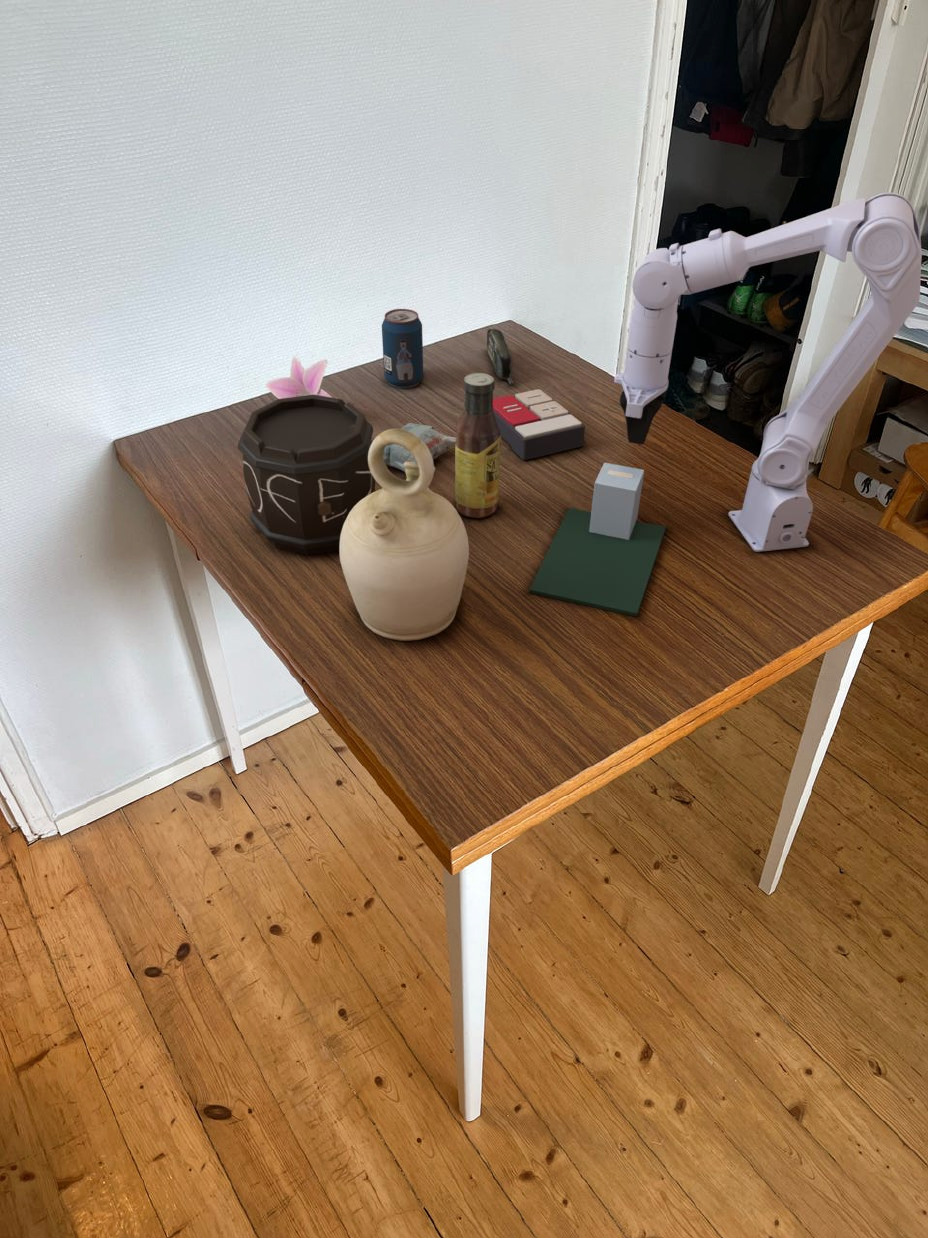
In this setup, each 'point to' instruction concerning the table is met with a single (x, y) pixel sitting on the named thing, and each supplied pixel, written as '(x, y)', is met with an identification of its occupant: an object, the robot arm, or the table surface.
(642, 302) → the robot arm
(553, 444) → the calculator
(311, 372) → the lily
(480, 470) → the sauce bottle
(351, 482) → the octagonal coffee canister
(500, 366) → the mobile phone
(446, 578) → the jug
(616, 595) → the rubber mat
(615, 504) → the grey block
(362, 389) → the table surface
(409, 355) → the soda can
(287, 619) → the table surface
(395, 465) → the packaged food
